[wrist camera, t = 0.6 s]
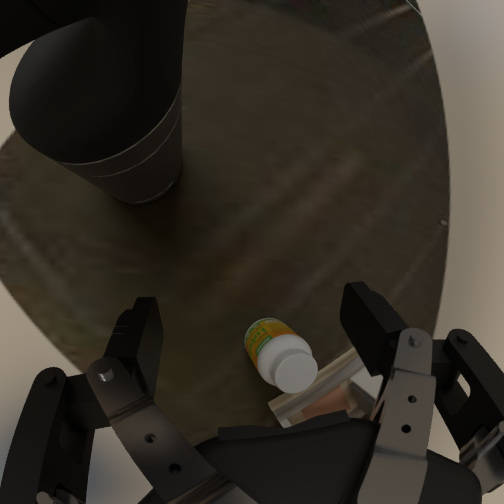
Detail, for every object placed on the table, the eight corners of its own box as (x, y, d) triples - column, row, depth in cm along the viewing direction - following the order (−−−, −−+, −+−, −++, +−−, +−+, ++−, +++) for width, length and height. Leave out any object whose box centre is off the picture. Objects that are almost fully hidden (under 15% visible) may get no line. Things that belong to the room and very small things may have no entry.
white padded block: (341, 377, 33) (386, 413, 24) (373, 354, 34) (422, 382, 24) (354, 405, 34) (395, 441, 24) (383, 383, 35) (428, 412, 25)
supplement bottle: (250, 312, 32) (277, 341, 22) (294, 321, 33) (333, 350, 24) (238, 355, 32) (258, 397, 22) (280, 363, 33) (313, 402, 23)
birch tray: (267, 402, 33) (274, 415, 30) (379, 327, 36) (392, 332, 33) (297, 444, 34) (305, 456, 31) (395, 375, 37) (407, 383, 34)
